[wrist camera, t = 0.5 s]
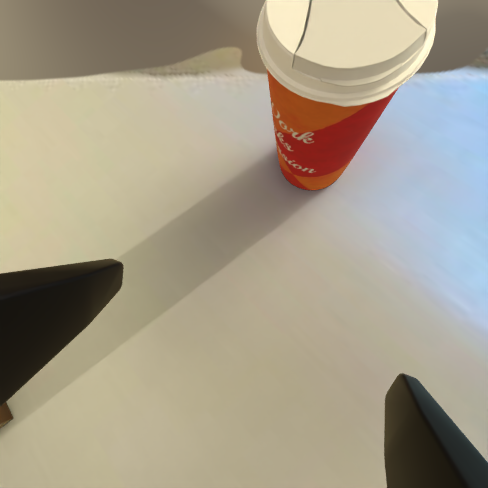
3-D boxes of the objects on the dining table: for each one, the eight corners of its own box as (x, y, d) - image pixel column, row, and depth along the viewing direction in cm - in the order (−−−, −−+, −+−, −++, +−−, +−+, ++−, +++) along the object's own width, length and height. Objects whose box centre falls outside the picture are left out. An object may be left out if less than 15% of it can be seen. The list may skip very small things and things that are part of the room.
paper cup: (262, 127, 27) (244, -55, 13) (348, 113, 26) (426, -96, 12) (273, 210, 25) (266, 99, 12) (366, 197, 24) (477, 63, 11)
